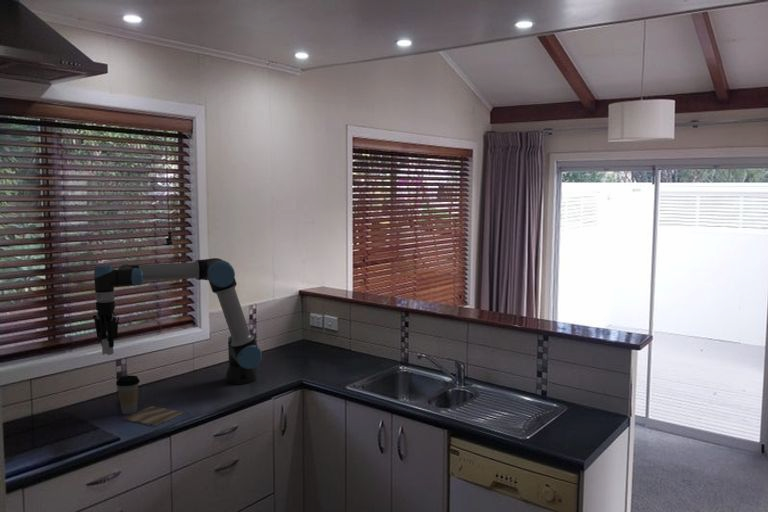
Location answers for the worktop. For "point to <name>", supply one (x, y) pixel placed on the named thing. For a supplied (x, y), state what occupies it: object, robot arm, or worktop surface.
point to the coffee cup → (128, 393)
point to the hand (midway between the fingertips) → (108, 353)
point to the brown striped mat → (153, 415)
